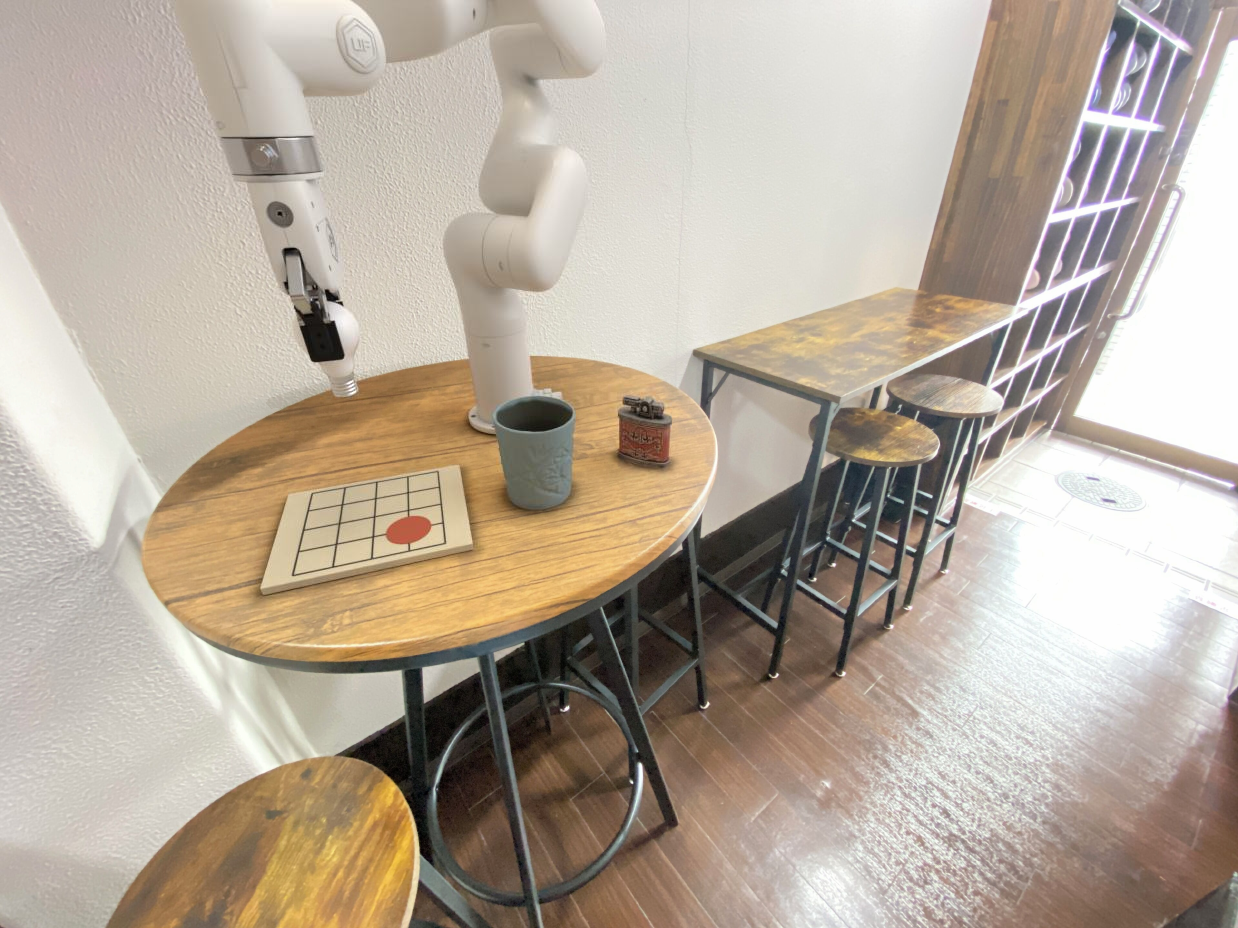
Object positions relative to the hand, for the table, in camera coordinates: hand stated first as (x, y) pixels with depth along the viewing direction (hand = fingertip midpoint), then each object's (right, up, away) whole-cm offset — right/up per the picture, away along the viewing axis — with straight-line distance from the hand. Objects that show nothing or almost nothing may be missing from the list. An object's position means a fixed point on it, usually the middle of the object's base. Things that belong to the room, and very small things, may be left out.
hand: (332, 347), depth 58 cm
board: (+1, -20, +8) cm, 22 cm away
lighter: (+35, -12, +21) cm, 43 cm away
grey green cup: (+21, -17, +14) cm, 30 cm away
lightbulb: (0, -5, +3) cm, 6 cm away
